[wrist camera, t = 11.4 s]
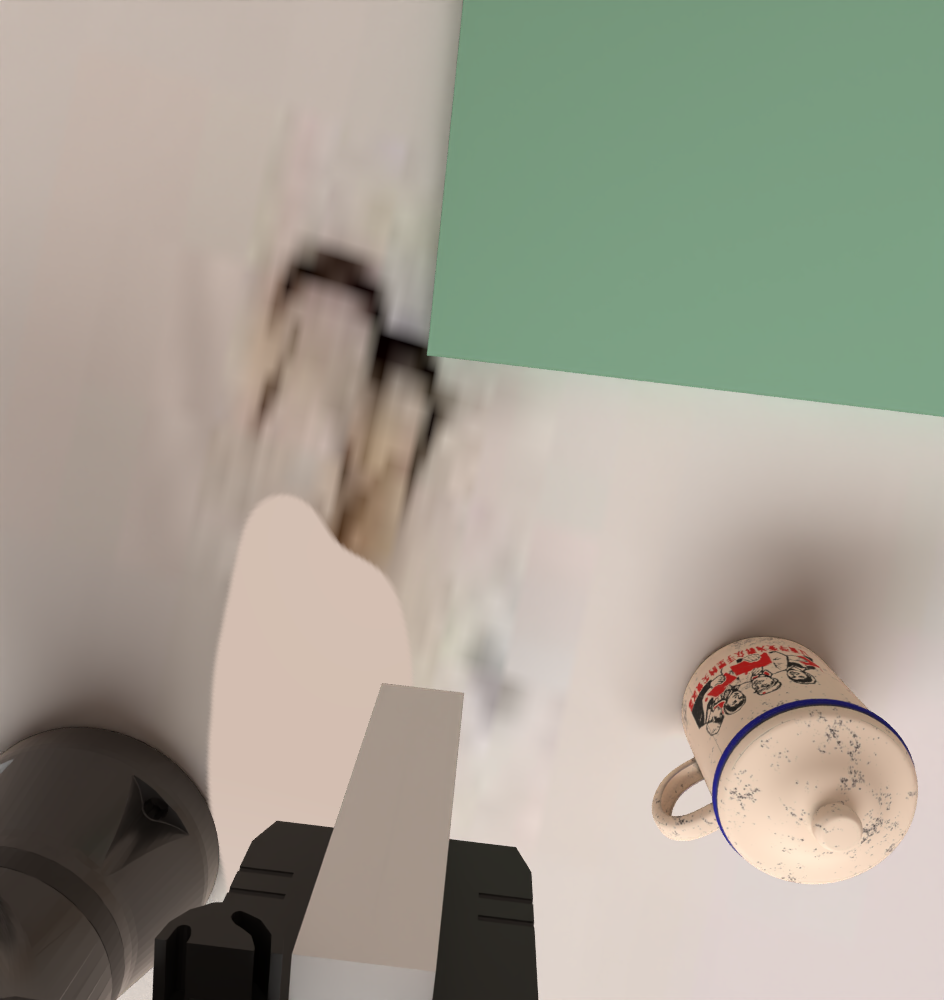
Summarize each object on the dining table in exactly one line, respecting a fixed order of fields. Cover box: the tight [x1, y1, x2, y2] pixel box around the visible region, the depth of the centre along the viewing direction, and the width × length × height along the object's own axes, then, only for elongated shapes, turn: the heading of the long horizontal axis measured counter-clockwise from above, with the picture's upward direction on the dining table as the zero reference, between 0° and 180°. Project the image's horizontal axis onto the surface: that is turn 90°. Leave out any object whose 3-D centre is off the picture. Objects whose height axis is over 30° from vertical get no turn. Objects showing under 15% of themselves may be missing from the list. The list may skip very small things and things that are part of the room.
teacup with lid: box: [652, 637, 918, 884], centre depth 40 cm, size 12×9×12 cm
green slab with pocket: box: [427, 0, 944, 417], centre depth 38 cm, size 34×18×4 cm, turn 83°
